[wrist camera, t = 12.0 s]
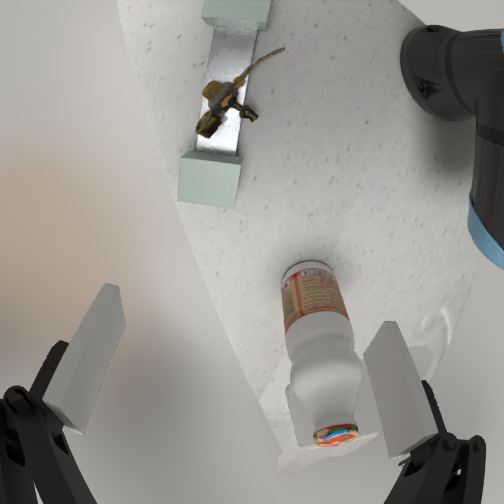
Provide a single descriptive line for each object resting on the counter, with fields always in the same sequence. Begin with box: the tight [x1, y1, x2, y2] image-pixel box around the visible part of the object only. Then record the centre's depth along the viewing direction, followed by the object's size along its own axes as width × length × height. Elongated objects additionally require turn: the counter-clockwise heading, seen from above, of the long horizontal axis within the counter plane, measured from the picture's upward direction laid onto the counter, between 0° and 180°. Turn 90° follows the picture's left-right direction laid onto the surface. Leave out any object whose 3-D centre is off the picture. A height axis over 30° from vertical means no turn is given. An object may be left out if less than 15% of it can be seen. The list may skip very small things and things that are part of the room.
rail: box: [196, 25, 258, 156], centre depth 31 cm, size 5×28×2 cm, turn 171°
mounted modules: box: [178, 0, 272, 209], centre depth 28 cm, size 7×28×4 cm, turn 171°
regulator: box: [195, 48, 285, 139], centre depth 29 cm, size 8×4×15 cm
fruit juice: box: [281, 261, 363, 447], centre depth 36 cm, size 9×9×28 cm
